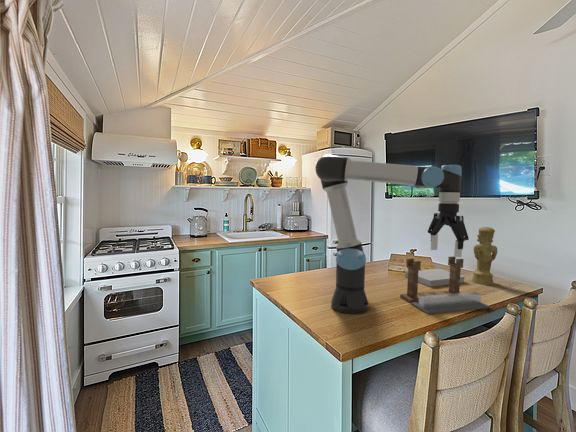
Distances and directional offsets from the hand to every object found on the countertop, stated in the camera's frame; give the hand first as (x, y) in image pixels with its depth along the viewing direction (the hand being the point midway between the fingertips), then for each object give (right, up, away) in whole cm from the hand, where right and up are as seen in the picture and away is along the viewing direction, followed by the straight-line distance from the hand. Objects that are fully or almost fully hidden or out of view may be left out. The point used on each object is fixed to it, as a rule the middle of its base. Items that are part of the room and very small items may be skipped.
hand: (445, 253), depth 122 cm
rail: (+2, -22, 0) cm, 22 cm away
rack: (0, -22, +10) cm, 24 cm away
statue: (+39, -20, +34) cm, 55 cm away
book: (+14, -20, +38) cm, 45 cm away
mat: (+2, -22, 0) cm, 23 cm away
